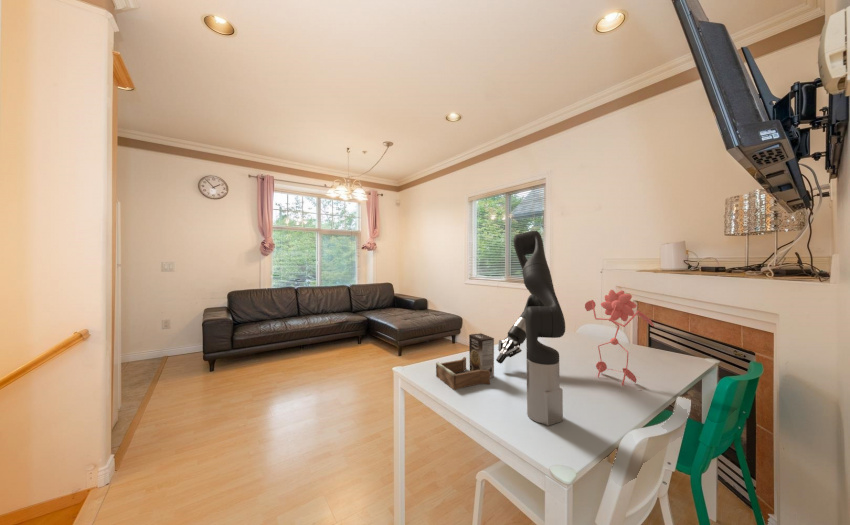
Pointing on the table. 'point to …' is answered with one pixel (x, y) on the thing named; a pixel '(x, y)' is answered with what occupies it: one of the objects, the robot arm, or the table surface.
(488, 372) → the bay
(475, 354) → the coffee box
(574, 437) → the table surface
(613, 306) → the pink flower stick figure
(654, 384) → the table surface
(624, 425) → the table surface
